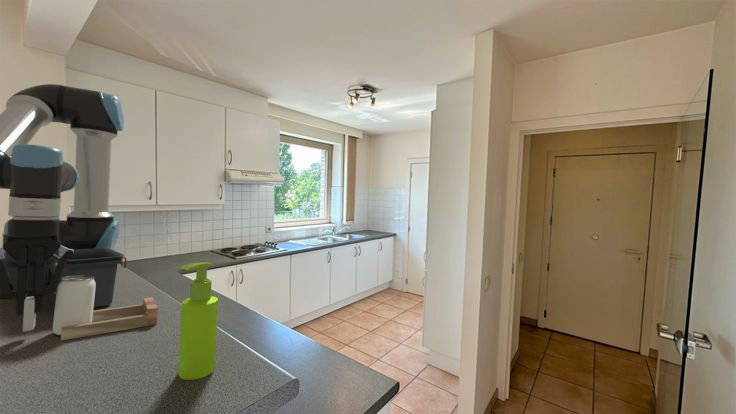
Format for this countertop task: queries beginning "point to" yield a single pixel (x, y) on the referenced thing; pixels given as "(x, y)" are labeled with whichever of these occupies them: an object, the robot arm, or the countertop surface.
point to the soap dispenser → (198, 326)
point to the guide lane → (114, 320)
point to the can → (74, 302)
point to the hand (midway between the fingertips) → (29, 328)
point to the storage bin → (95, 270)
